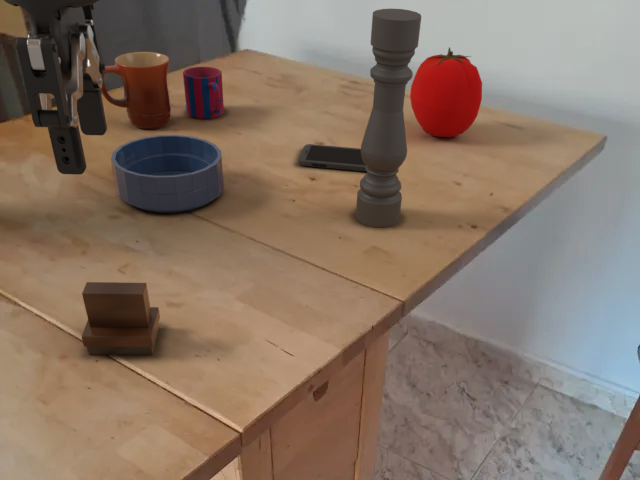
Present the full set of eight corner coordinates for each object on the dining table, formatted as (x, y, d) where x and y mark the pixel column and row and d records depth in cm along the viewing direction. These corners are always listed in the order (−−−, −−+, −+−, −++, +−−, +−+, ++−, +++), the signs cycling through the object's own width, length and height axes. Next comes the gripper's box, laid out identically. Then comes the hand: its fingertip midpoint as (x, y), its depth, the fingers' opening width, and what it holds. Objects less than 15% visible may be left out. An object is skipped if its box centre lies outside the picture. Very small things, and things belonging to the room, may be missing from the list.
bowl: (95, 199, 98) (87, 161, 94) (162, 163, 107) (157, 127, 104) (182, 226, 93) (177, 186, 89) (243, 185, 102) (242, 148, 99)
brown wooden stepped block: (86, 356, 71) (72, 302, 67) (97, 325, 75) (85, 273, 71) (154, 356, 71) (145, 303, 67) (161, 326, 75) (153, 274, 71)
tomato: (461, 152, 115) (476, 66, 106) (394, 137, 119) (403, 53, 110) (485, 131, 122) (500, 49, 113) (421, 117, 126) (431, 37, 117)
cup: (217, 104, 128) (215, 65, 123) (234, 123, 121) (232, 81, 117) (182, 108, 126) (178, 68, 121) (197, 127, 119) (194, 85, 115)
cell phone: (384, 173, 107) (385, 168, 107) (297, 165, 108) (297, 160, 108) (388, 155, 112) (388, 150, 112) (304, 147, 114) (304, 143, 113)
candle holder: (372, 231, 93) (391, 23, 76) (346, 213, 97) (359, 11, 80) (408, 221, 96) (434, 17, 79) (382, 203, 100) (402, 6, 82)
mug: (168, 112, 124) (161, 49, 117) (182, 129, 118) (175, 64, 111) (101, 120, 120) (90, 55, 113) (112, 137, 115) (100, 71, 108)
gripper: (14, -93, 53) (61, 122, 65) (-54, -64, 43) (16, 186, 54) (111, -89, 54) (141, 124, 65) (67, -60, 43) (112, 188, 54)
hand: (84, 152), depth 59 cm, fingers open, 8 cm apart
